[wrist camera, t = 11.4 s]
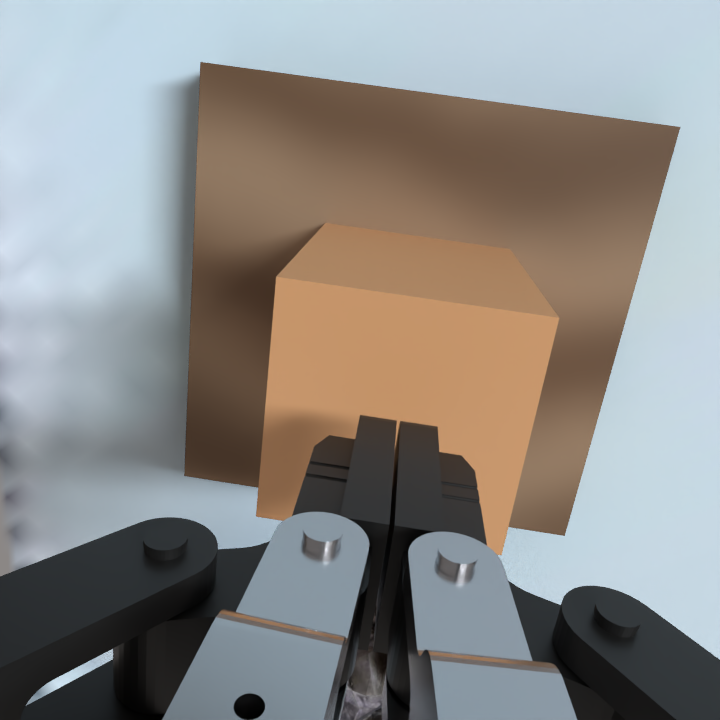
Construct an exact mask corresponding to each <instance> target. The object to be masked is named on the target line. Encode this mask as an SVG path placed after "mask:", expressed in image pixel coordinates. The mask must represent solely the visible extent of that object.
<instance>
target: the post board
mask: <svg viewBox="0 0 720 720" xmlns="http://www.w3.org/2000/svg"><path fill="white" fill-rule="evenodd" d="M679 130H680V127H675V126H668V125H661V124H653V123H646V122H638V121H631V120H624V119H616V118H609V117H602V116H594V115H587V114H579V113H572V112H565V111H557V110H550V109H543V108H535V107H528V106H520V105H513V104H506V103H498V102H491V101H484V100H476V99H469V98H461V97H454V96H447V95H439V94H432V93H425V92H417V91H410V90H402V89H395V88H388V87H380V86H373V85H366V84H358V83H351V82H343V81H336V80H329V79H321V78H314V77H307V76H299V75H292V74H284V73H277V72H270V71H262V70H255V69H248V68H240V67H233V66H225V65H218V64H211V63H203V62H201V64H200V89H199V115H198V141H197V166H196V192H195V217H194V243H193V269H192V294H191V320H190V345H189V371H188V397H187V422H186V448H185V473H184V476H189V477H195V478H202V479H208V480H214V481H221V482H227V483H233V484H240V485H246V486H252V487H259V476H260V464H261V452H262V440H263V428H264V416H265V404H266V392H267V380H268V368H269V357H270V345H271V333H272V321H273V309H274V297H275V285H276V276H277V275H278V274H279V273H280V272H281V271H282V270H283V269H284V268H285V267H286V266H287V264H288V263H289V262H290V261H291V260H292V259H293V258H294V257H295V256H296V255H297V253H298V252H299V251H300V250H301V249H302V248H303V247H304V246H305V245H306V244H307V243H308V241H309V240H310V239H311V238H312V237H313V236H314V235H315V234H316V233H317V232H318V231H319V229H320V228H321V227H322V226H323V225H324V224H325V223H330V224H337V225H344V226H351V227H358V228H365V229H372V230H379V231H386V232H393V233H400V234H407V235H414V236H421V237H428V238H435V239H442V240H449V241H456V242H463V243H470V244H477V245H484V246H491V247H498V248H505V249H510V250H511V251H512V253H513V254H514V255H515V257H516V258H517V260H518V261H519V262H520V264H521V265H522V267H523V268H524V269H525V271H526V272H527V274H528V275H529V276H530V278H531V279H532V280H533V282H534V283H535V285H536V286H537V287H538V289H539V290H540V292H541V293H542V294H543V296H544V297H545V299H546V300H547V301H548V303H549V304H550V306H551V307H552V308H553V310H554V311H555V313H556V314H557V315H558V317H559V322H558V326H557V330H556V334H555V338H554V342H553V346H552V350H551V354H550V358H549V362H548V367H547V371H546V375H545V379H544V383H543V387H542V391H541V395H540V399H539V403H538V407H537V412H536V416H535V420H534V424H533V428H532V432H531V436H530V440H529V444H528V448H527V452H526V457H525V461H524V465H523V469H522V473H521V477H520V481H519V485H518V489H517V493H516V497H515V502H514V506H513V510H512V514H511V518H510V522H509V526H508V527H512V528H519V529H525V530H532V531H538V532H544V533H551V534H557V535H563V536H565V532H566V529H567V525H568V522H569V518H570V515H571V511H572V508H573V504H574V501H575V497H576V494H577V490H578V487H579V483H580V479H581V476H582V472H583V469H584V465H585V462H586V458H587V455H588V451H589V448H590V444H591V441H592V437H593V434H594V430H595V426H596V423H597V419H598V416H599V412H600V409H601V405H602V402H603V398H604V395H605V391H606V388H607V384H608V381H609V377H610V373H611V370H612V366H613V363H614V359H615V356H616V352H617V349H618V345H619V342H620V338H621V335H622V331H623V327H624V324H625V320H626V317H627V313H628V310H629V306H630V303H631V299H632V296H633V292H634V289H635V285H636V282H637V278H638V274H639V271H640V267H641V264H642V260H643V257H644V253H645V250H646V246H647V243H648V239H649V236H650V232H651V229H652V225H653V221H654V218H655V214H656V211H657V207H658V204H659V200H660V197H661V193H662V190H663V186H664V183H665V179H666V176H667V172H668V168H669V165H670V161H671V158H672V154H673V151H674V147H675V144H676V140H677V137H678V133H679Z"/></svg>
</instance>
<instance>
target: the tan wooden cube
mask: <svg viewBox="0 0 720 720" xmlns="http://www.w3.org/2000/svg"><path fill="white" fill-rule="evenodd" d="M558 322H559V317H558V315H557V314H556V313H555V311H554V310H553V308H552V307H551V306H550V304H549V303H548V301H547V300H546V299H545V297H544V296H543V294H542V293H541V292H540V290H539V289H538V287H537V286H536V285H535V283H534V282H533V280H532V279H531V278H530V276H529V275H528V274H527V272H526V271H525V269H524V268H523V267H522V265H521V264H520V262H519V261H518V260H517V258H516V257H515V255H514V254H513V253H512V251H511V250H510V249H505V248H498V247H491V246H484V245H477V244H470V243H463V242H456V241H449V240H442V239H435V238H428V237H421V236H414V235H407V234H400V233H393V232H386V231H379V230H372V229H365V228H358V227H351V226H344V225H337V224H330V223H325V224H324V225H323V226H322V227H321V228H320V229H319V231H318V232H317V233H316V234H315V235H314V236H313V237H312V238H311V239H310V240H309V241H308V243H307V244H306V245H305V246H304V247H303V248H302V249H301V250H300V251H299V252H298V253H297V255H296V256H295V257H294V258H293V259H292V260H291V261H290V262H289V263H288V264H287V266H286V267H285V268H284V269H283V270H282V271H281V272H280V273H279V274H278V275H277V276H276V285H275V297H274V309H273V321H272V333H271V345H270V357H269V368H268V380H267V392H266V404H265V416H264V428H263V440H262V452H261V464H260V476H259V487H258V499H257V511H256V516H257V517H263V518H269V519H276V520H282V521H284V520H285V519H287V518H289V517H291V516H292V514H293V511H294V508H295V505H296V502H297V498H298V495H299V492H300V489H301V486H302V483H303V480H304V477H305V474H306V470H307V467H308V464H309V461H310V458H311V455H312V452H313V448H314V446H315V445H316V444H318V443H319V442H321V441H322V440H323V439H325V438H326V437H327V436H329V435H332V436H338V437H345V438H351V439H355V438H356V433H357V427H358V422H359V417H360V415H365V416H371V417H378V418H385V419H391V420H397V426H396V440H397V434H398V429H399V424H400V421H405V422H411V423H418V424H425V425H431V426H437V427H438V439H439V452H443V453H449V454H456V455H462V456H463V458H464V459H465V460H466V461H467V462H468V463H469V465H470V466H471V467H472V468H473V469H474V470H475V474H476V480H477V486H478V487H477V490H478V493H479V499H480V501H479V503H480V505H481V511H482V517H483V523H484V529H485V535H486V542H487V546H488V547H489V548H490V549H492V550H493V551H494V552H495V553H496V554H497V555H502V551H503V547H504V542H505V538H506V534H507V530H508V526H509V522H510V518H511V514H512V510H513V506H514V502H515V497H516V493H517V489H518V485H519V481H520V477H521V473H522V469H523V465H524V461H525V457H526V452H527V448H528V444H529V440H530V436H531V432H532V428H533V424H534V420H535V416H536V412H537V407H538V403H539V399H540V395H541V391H542V387H543V383H544V379H545V375H546V371H547V367H548V362H549V358H550V354H551V350H552V346H553V342H554V338H555V334H556V330H557V326H558ZM396 440H395V446H396Z"/></svg>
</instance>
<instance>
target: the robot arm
mask: <svg viewBox="0 0 720 720" xmlns="http://www.w3.org/2000/svg"><path fill="white" fill-rule="evenodd" d="M396 426H397V420H391V419H385V418H378V417H371V416H365V415H360V417H359V422H358V427H357V433H356V438H355V439H351V438H345V437H338V436H332V435H329V436H327V437H326V438H325V439H323V440H322V441H321V442H319V443H318V444H316V445H315V446H314V448H313V452H312V455H311V458H310V461H309V464H308V467H307V470H306V474H305V477H304V480H303V483H302V486H301V489H300V492H299V495H298V498H297V502H296V505H295V508H294V511H293V514H292V516H291V517H289V518H287V519H285V520H284V521H282V522H281V523H280V524H279V525H278V527H277V528H276V530H275V532H274V534H273V536H272V538H271V540H270V541H269V542H267V543H264V544H261V545H258V546H253V547H247V548H235V549H218V543H217V540H216V538H215V536H214V534H213V533H212V532H211V531H210V530H209V529H208V528H206V527H205V526H203V525H201V524H199V523H197V522H194V521H191V520H188V519H182V518H156V519H151V520H146V521H143V522H140V523H137V524H135V525H132V526H130V527H127V528H125V529H122V530H119V531H117V532H114V533H112V534H109V535H106V536H104V537H101V538H99V539H96V540H94V541H91V542H88V543H86V544H83V545H81V546H78V547H75V548H73V549H70V550H68V551H65V552H63V553H60V554H57V555H55V556H52V557H50V558H47V559H44V560H42V561H39V562H37V563H34V564H32V565H29V566H26V567H24V568H21V569H19V570H16V571H14V572H11V573H8V574H6V575H3V576H1V577H0V720H340V718H341V714H342V709H343V705H344V700H345V696H346V690H347V684H348V680H349V678H350V677H351V675H352V673H353V671H354V667H355V662H356V656H357V650H358V649H360V650H366V651H368V648H369V642H370V636H371V630H372V625H373V619H374V613H375V607H376V601H377V608H376V620H375V631H374V643H373V651H374V652H380V653H386V654H388V655H387V669H386V675H385V680H384V686H383V691H382V700H381V703H382V720H720V660H719V659H718V658H716V657H715V656H714V655H712V654H711V653H710V652H708V651H707V650H706V649H704V648H703V647H702V646H700V645H699V644H697V643H696V642H695V641H693V640H692V639H691V638H689V637H688V636H687V635H685V634H684V633H683V632H681V631H680V630H678V629H677V628H676V627H674V626H673V625H672V624H670V623H669V622H668V621H666V620H665V619H663V618H662V617H661V616H659V615H658V614H657V613H655V612H654V611H653V610H651V609H650V608H649V607H647V606H646V605H644V604H643V603H641V602H640V601H638V600H636V599H635V598H633V597H631V596H629V595H627V594H624V593H622V592H619V591H616V590H613V589H610V588H606V587H600V586H582V587H578V588H574V589H572V590H571V591H569V592H568V593H567V594H566V595H565V596H564V598H563V600H562V604H561V605H559V604H556V603H553V602H551V601H548V600H546V599H543V598H540V597H538V596H535V595H533V594H530V593H528V592H526V591H524V590H522V589H520V588H518V587H517V586H515V585H514V584H512V583H511V582H509V581H508V579H507V576H506V572H505V569H504V566H503V564H502V561H501V560H500V558H499V557H498V555H497V554H496V553H495V552H494V551H493V550H492V549H490V548H489V547H488V546H487V542H486V535H485V529H484V523H483V517H482V511H481V505H480V503H479V501H480V499H479V493H478V490H477V487H478V486H477V480H476V474H475V470H474V469H473V468H472V467H471V466H470V465H469V463H468V462H467V461H466V460H465V459H464V458H463V456H462V455H456V454H449V453H443V452H439V439H438V427H437V426H431V425H425V424H418V423H411V422H405V421H400V424H399V429H398V434H397V440H396ZM395 440H396V446H395ZM377 595H378V596H377ZM111 649H113V660H111V661H109V662H107V663H106V664H104V665H102V666H100V667H98V668H96V669H94V670H92V671H91V672H89V673H87V674H85V675H83V676H81V677H79V678H77V679H76V680H74V681H72V682H70V683H68V684H66V685H64V686H62V687H61V688H59V689H57V690H55V691H53V692H51V693H49V694H47V695H46V696H44V697H42V698H40V699H38V700H36V701H34V702H32V703H31V704H29V705H27V706H26V704H27V702H28V701H29V700H30V698H31V697H32V696H33V695H34V694H35V693H36V692H37V691H38V690H39V689H40V688H41V687H42V686H44V685H45V684H47V683H48V682H50V681H52V680H53V679H55V678H57V677H59V676H61V675H63V674H65V673H67V672H69V671H71V670H72V669H74V668H76V667H78V666H80V665H82V664H84V663H86V662H88V661H90V660H92V659H94V658H95V657H97V656H99V655H101V654H103V653H105V652H107V651H109V650H111Z"/></svg>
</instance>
